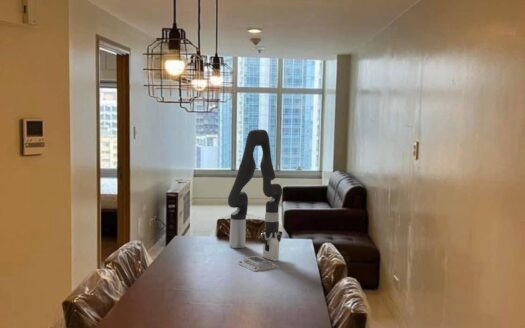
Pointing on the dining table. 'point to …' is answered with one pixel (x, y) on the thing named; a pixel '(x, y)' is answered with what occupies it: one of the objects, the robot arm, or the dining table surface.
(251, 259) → the plate
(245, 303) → the dining table surface
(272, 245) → the photo printer
